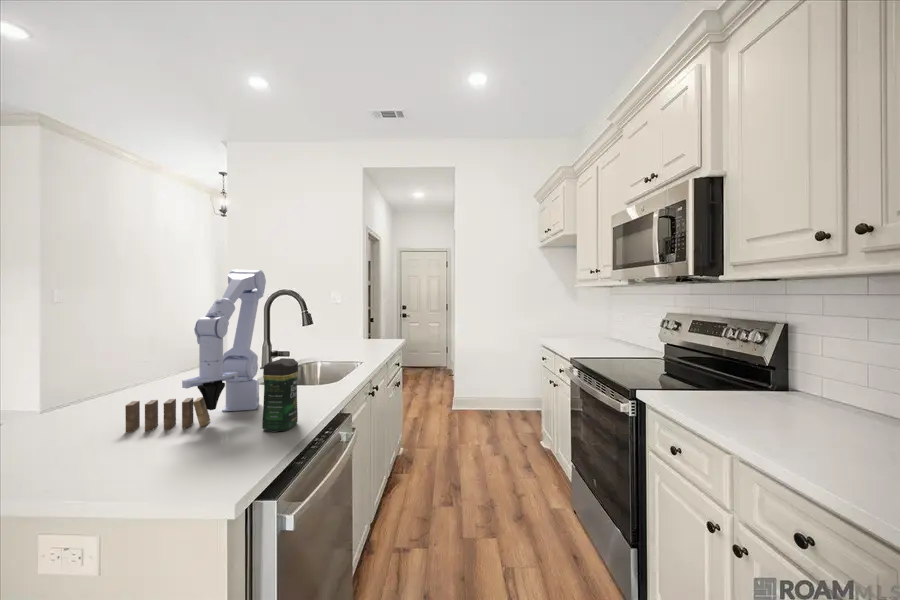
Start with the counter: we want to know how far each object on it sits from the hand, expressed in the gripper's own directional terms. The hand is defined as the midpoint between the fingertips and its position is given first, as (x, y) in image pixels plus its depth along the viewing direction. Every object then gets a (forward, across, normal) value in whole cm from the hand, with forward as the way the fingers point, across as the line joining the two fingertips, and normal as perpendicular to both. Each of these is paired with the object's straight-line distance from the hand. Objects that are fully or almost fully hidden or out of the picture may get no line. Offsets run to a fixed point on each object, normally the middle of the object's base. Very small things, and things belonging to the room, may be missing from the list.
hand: (211, 409), depth 118 cm
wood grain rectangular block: (+4, +13, -13) cm, 19 cm away
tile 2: (+4, +4, -4) cm, 7 cm away
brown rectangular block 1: (+4, +10, -10) cm, 15 cm away
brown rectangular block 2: (+4, +7, -7) cm, 11 cm away
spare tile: (+4, +1, -1) cm, 4 cm away
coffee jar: (+4, -8, +18) cm, 21 cm away
